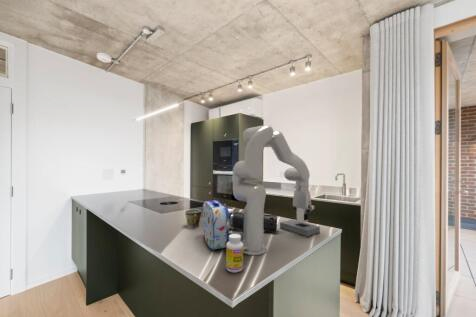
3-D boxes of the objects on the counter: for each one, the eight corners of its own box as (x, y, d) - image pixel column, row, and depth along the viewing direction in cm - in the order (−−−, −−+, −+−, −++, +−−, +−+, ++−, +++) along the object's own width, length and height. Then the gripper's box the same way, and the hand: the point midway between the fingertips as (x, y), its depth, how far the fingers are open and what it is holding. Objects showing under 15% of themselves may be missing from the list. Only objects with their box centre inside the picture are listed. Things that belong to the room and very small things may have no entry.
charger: (303, 222, 126) (303, 208, 126) (296, 220, 129) (296, 207, 129) (307, 221, 128) (307, 207, 129) (301, 219, 132) (301, 206, 132)
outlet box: (307, 237, 119) (307, 230, 119) (280, 228, 134) (280, 222, 134) (319, 233, 126) (319, 226, 126) (292, 225, 142) (292, 219, 142)
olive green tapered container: (183, 225, 140) (183, 210, 140) (198, 223, 144) (198, 208, 144) (187, 231, 128) (188, 214, 128) (204, 229, 133) (204, 213, 133)
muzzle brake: (276, 234, 123) (276, 216, 123) (229, 230, 129) (229, 213, 129) (276, 229, 133) (277, 212, 133) (232, 226, 138) (233, 210, 138)
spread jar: (226, 231, 128) (227, 212, 128) (212, 228, 134) (212, 209, 134) (238, 227, 138) (238, 208, 138) (224, 223, 144) (224, 206, 144)
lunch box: (234, 252, 99) (234, 204, 99) (212, 255, 95) (212, 206, 96) (218, 233, 125) (218, 195, 125) (200, 235, 121) (200, 196, 121)
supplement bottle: (232, 275, 79) (232, 240, 79) (222, 267, 84) (223, 235, 85) (246, 269, 83) (246, 236, 83) (236, 263, 88) (236, 232, 89)
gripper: (286, 187, 133) (287, 217, 133) (310, 190, 120) (311, 223, 120) (294, 186, 138) (294, 215, 138) (318, 189, 125) (318, 221, 124)
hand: (302, 218), depth 129 cm, fingers closed on charger, 4 cm apart
